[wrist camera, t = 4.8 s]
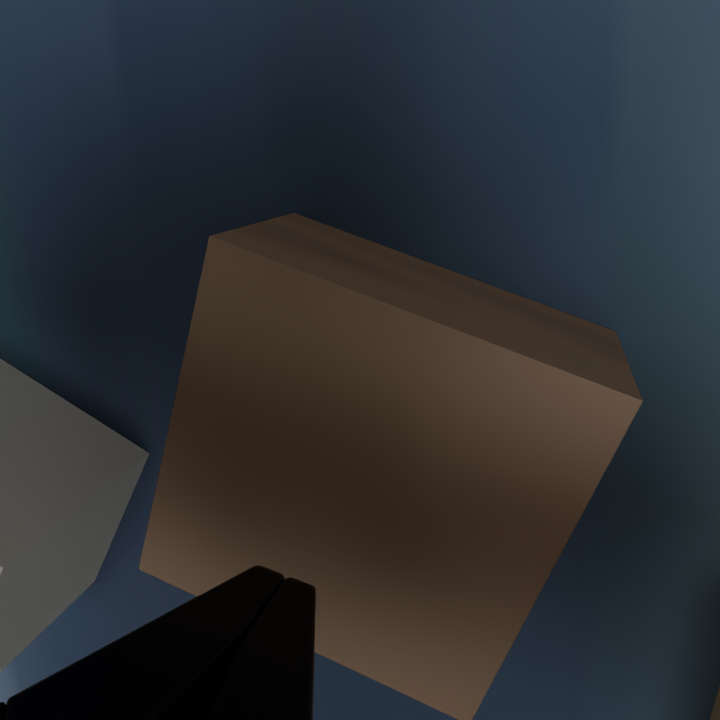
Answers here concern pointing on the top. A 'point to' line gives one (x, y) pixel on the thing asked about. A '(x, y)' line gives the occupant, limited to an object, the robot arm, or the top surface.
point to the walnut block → (383, 448)
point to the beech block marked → (716, 708)
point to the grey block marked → (54, 504)
